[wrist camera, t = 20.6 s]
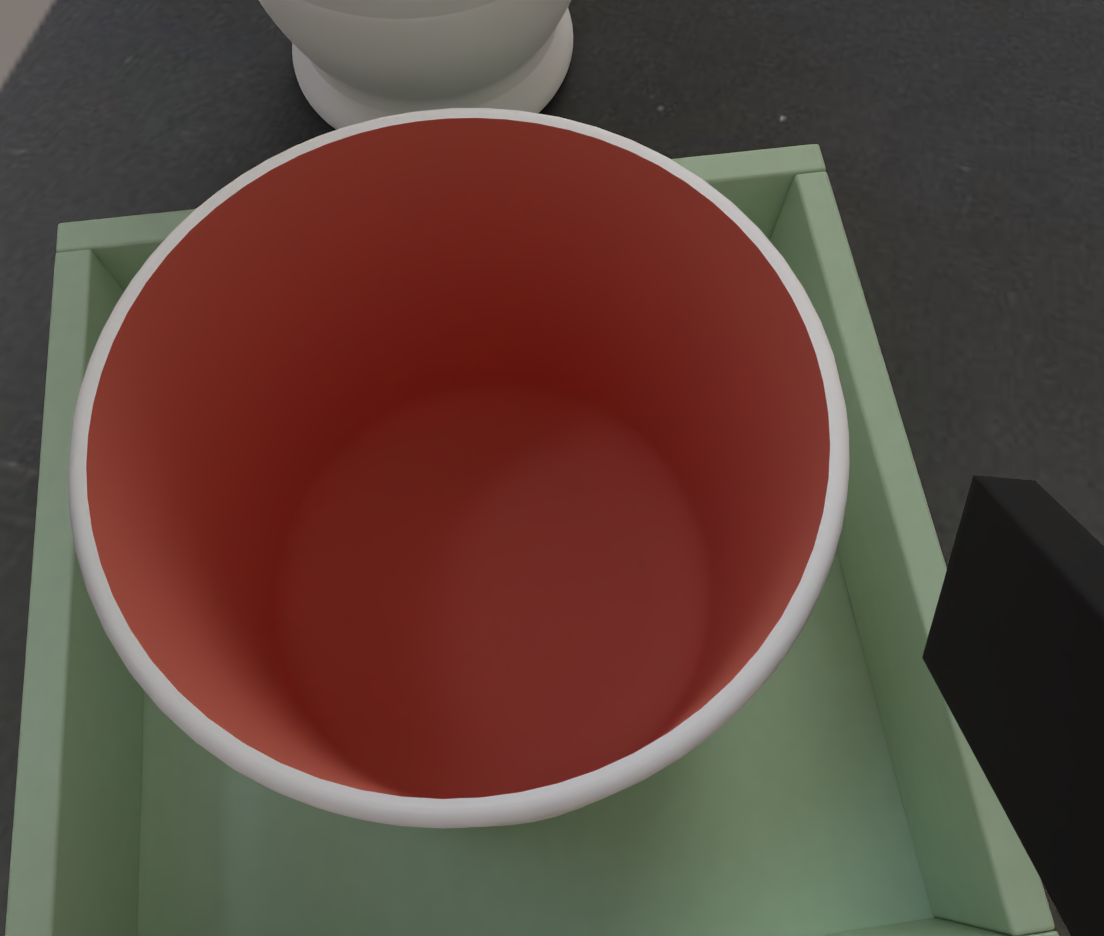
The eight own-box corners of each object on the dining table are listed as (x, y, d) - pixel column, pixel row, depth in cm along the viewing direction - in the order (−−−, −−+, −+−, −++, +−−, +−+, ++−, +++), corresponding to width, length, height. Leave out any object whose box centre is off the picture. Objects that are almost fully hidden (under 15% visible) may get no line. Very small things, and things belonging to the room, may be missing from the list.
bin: (133, 316, 24) (56, 221, 20) (777, 244, 25) (819, 141, 21) (105, 1087, 18) (-14, 1160, 14) (967, 951, 19) (1075, 983, 15)
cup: (764, 778, 19) (965, 738, 10) (296, 866, 19) (50, 911, 9) (662, 369, 23) (742, 62, 14) (266, 431, 22) (68, 150, 13)
